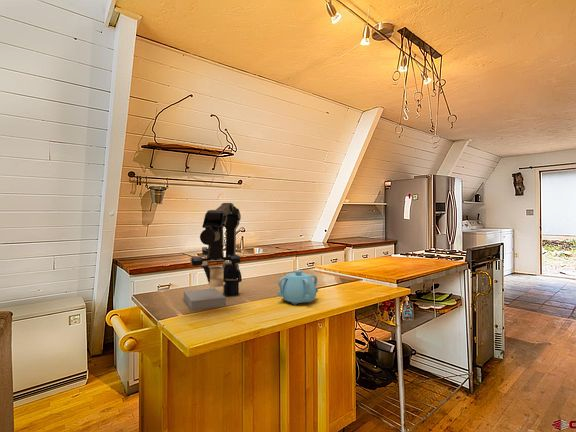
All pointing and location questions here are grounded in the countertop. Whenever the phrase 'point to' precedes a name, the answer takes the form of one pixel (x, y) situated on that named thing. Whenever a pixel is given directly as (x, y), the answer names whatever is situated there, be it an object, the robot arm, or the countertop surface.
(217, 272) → the beech block
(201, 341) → the countertop surface
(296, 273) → the decorative pot
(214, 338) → the countertop surface
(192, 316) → the countertop surface
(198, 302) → the grey riser
